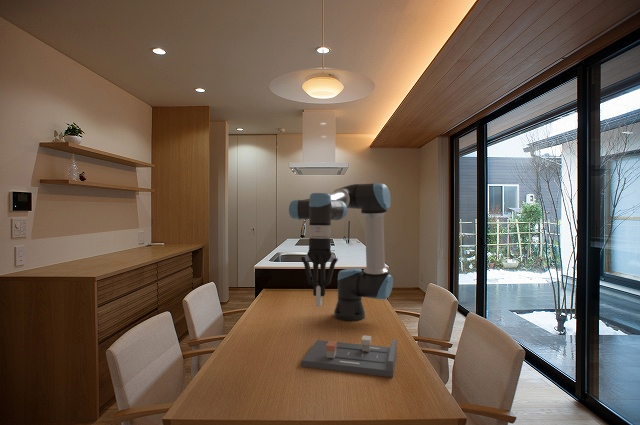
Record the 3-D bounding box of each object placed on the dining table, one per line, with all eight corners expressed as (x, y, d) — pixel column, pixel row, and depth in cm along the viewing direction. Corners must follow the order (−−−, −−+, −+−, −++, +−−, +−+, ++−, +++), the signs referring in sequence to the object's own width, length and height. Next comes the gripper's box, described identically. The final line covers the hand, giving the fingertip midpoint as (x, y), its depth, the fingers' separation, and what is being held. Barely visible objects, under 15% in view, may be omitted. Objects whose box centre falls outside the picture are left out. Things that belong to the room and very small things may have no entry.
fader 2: (363, 346, 136) (363, 335, 136) (371, 347, 135) (371, 336, 135) (361, 351, 132) (361, 339, 132) (369, 352, 131) (369, 340, 131)
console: (317, 345, 144) (317, 332, 144) (396, 353, 136) (396, 339, 136) (301, 366, 124) (301, 351, 124) (392, 377, 117) (393, 361, 117)
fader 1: (328, 352, 130) (328, 340, 130) (337, 353, 129) (337, 341, 129) (325, 357, 126) (325, 345, 126) (334, 358, 125) (334, 346, 125)
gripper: (298, 237, 128) (297, 306, 128) (336, 238, 124) (335, 309, 124) (304, 236, 135) (303, 301, 135) (340, 237, 132) (339, 304, 132)
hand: (319, 305), depth 130 cm, fingers closed
